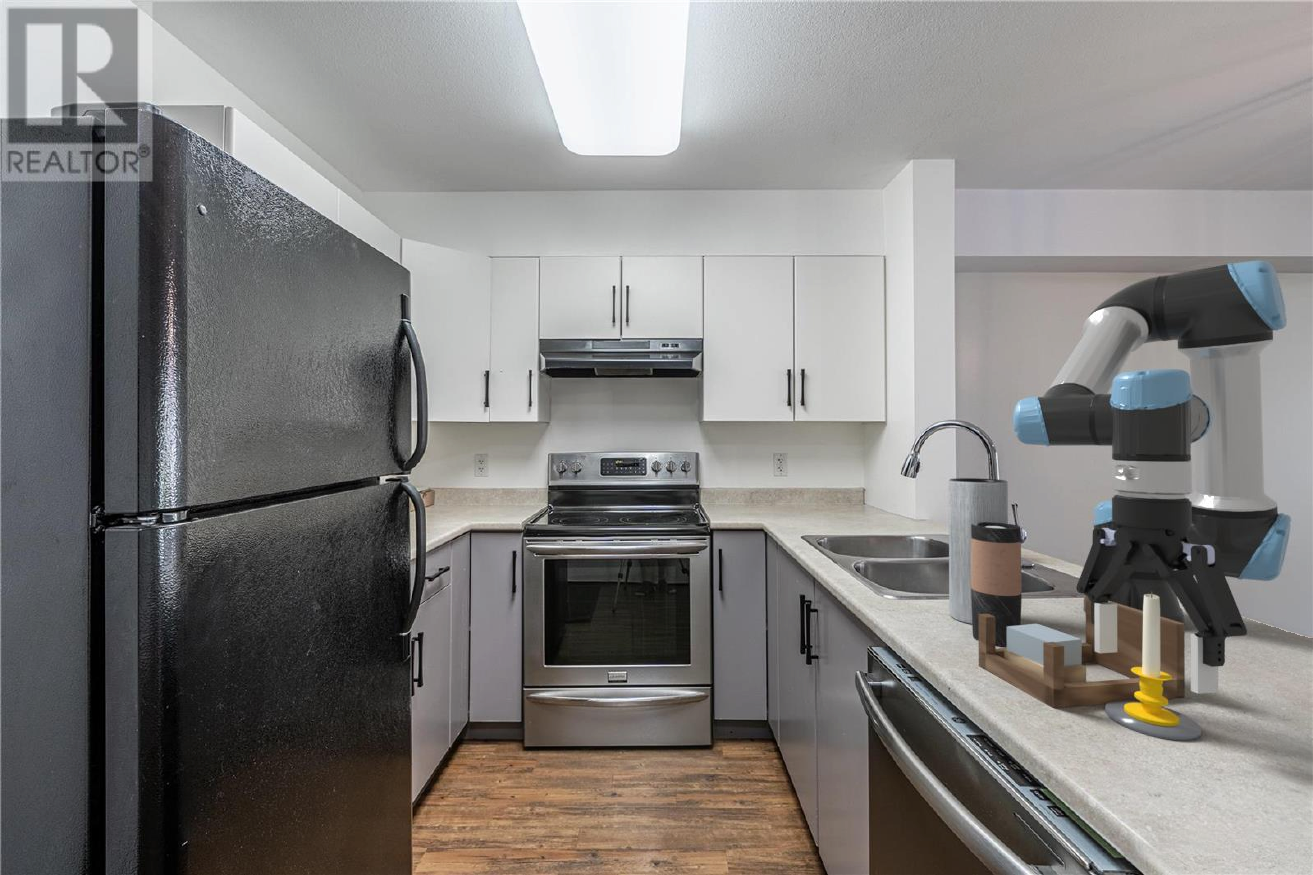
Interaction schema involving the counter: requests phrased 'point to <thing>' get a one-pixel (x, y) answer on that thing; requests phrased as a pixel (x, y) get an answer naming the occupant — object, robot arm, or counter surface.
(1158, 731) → the disc
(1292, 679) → the counter surface
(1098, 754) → the counter surface
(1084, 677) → the offcut lower
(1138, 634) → the frame
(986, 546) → the travel mug
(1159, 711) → the candle
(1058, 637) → the offcut upper
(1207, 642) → the robot arm
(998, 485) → the vase
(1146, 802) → the counter surface
